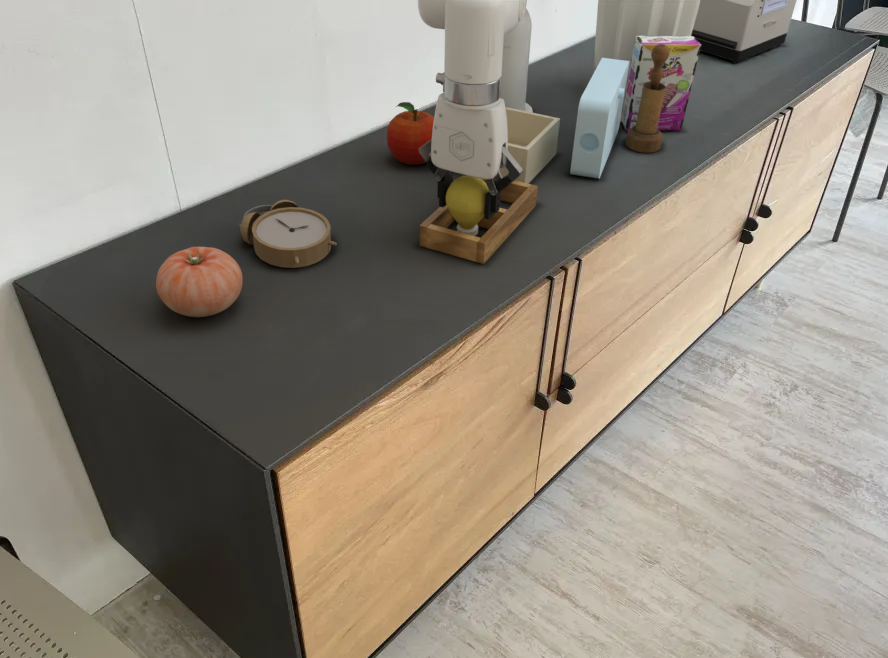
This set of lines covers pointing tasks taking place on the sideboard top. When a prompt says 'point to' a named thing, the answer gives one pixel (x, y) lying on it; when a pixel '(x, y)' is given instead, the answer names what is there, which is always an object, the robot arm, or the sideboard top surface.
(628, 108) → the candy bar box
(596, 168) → the radio
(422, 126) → the fruit
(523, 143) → the wooden box
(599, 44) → the vase
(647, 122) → the mortar and pestle
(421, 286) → the sideboard top surface
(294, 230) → the alarm clock
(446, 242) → the wooden frame
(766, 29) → the toaster
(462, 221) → the light bulb
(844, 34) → the sideboard top surface
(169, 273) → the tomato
